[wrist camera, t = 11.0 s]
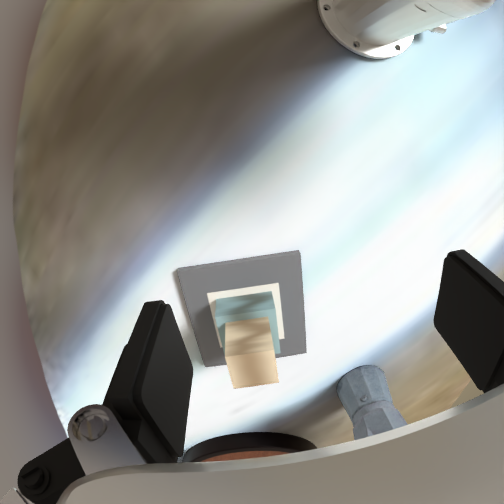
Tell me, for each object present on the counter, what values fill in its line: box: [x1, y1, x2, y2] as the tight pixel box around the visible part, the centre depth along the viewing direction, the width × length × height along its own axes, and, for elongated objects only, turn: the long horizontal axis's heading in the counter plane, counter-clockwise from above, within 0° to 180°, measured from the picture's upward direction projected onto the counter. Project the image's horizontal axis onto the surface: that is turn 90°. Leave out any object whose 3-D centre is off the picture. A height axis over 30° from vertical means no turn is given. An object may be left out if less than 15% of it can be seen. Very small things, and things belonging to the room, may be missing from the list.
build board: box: [177, 250, 306, 367], centre depth 41 cm, size 15×16×1 cm
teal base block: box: [215, 291, 281, 355], centre depth 39 cm, size 7×7×4 cm
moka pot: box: [337, 365, 408, 440], centre depth 40 cm, size 10×15×20 cm, turn 52°
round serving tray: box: [182, 432, 317, 463], centre depth 57 cm, size 31×4×31 cm
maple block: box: [225, 316, 279, 389], centre depth 34 cm, size 5×5×6 cm
